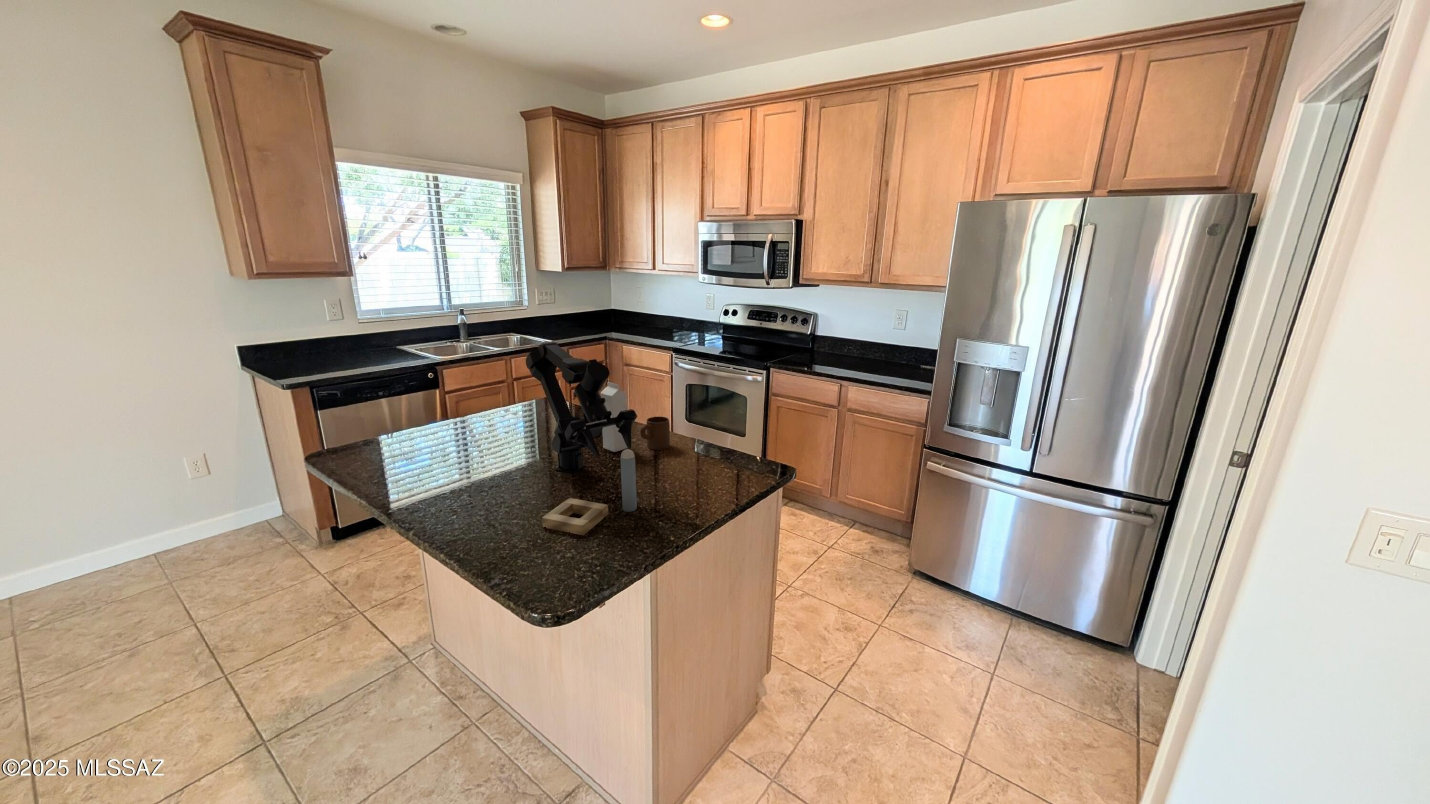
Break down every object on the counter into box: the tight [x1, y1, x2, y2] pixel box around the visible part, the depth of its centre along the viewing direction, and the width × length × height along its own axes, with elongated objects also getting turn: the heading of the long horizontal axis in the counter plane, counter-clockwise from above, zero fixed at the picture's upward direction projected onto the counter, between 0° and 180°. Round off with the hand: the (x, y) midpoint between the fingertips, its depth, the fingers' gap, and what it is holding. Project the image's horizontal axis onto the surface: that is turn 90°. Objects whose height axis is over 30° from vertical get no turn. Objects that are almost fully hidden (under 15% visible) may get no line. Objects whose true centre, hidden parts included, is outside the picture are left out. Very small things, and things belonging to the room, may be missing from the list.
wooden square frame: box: [541, 497, 609, 536], centre depth 127 cm, size 11×11×2 cm
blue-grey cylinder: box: [620, 448, 638, 513], centre depth 132 cm, size 4×4×16 cm
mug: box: [639, 416, 671, 451], centre depth 174 cm, size 12×8×9 cm, turn 145°
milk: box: [599, 381, 628, 453], centre depth 172 cm, size 6×6×22 cm
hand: (614, 452), depth 135 cm, fingers open, 9 cm apart
